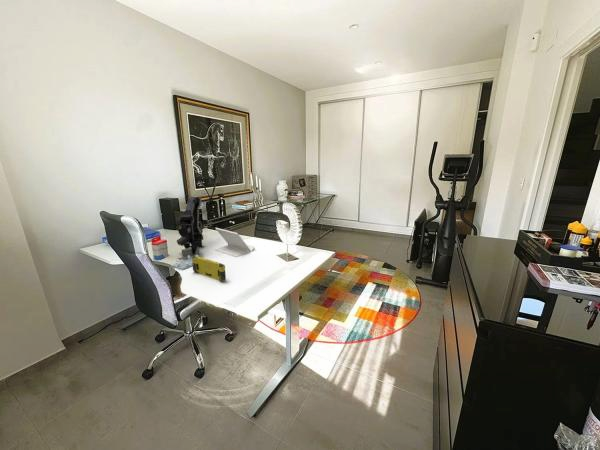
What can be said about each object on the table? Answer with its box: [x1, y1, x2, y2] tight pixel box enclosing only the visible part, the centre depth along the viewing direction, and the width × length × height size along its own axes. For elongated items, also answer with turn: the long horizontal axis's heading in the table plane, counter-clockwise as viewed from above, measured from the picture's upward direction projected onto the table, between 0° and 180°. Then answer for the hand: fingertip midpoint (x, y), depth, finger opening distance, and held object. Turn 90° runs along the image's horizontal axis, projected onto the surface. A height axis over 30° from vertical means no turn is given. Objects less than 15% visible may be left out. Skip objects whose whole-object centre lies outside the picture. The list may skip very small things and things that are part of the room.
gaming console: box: [191, 255, 227, 282], centre depth 138 cm, size 26×4×10 cm, turn 60°
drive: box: [181, 247, 201, 259], centre depth 171 cm, size 10×6×5 cm, turn 150°
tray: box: [171, 254, 199, 271], centre depth 156 cm, size 16×11×4 cm
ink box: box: [150, 235, 170, 261], centre depth 165 cm, size 8×5×15 cm, turn 168°
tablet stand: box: [214, 227, 256, 258], centre depth 180 cm, size 18×25×17 cm
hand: (191, 253), depth 171 cm, fingers closed on drive, 5 cm apart
